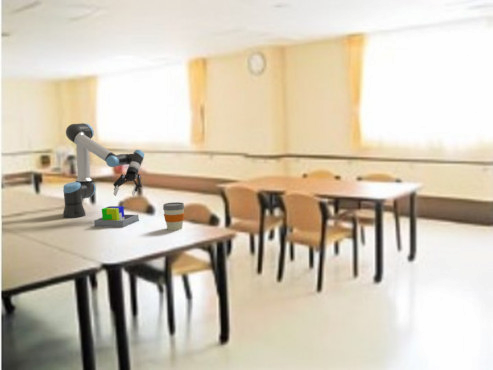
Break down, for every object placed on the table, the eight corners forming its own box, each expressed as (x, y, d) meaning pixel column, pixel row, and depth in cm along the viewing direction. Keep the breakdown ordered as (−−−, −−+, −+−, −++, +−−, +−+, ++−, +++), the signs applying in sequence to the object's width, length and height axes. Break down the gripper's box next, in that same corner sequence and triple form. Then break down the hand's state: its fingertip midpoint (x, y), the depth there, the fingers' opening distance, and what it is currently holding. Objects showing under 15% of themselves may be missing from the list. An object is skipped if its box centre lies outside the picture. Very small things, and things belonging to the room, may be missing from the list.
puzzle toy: (124, 221, 342) (123, 206, 341) (117, 224, 332) (116, 209, 331) (110, 221, 344) (109, 206, 343) (102, 224, 335) (101, 209, 333)
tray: (94, 226, 335) (94, 220, 334) (111, 220, 354) (110, 214, 354) (123, 227, 329) (123, 220, 329) (138, 220, 349) (138, 214, 348)
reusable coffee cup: (181, 231, 312) (180, 205, 310) (161, 230, 314) (159, 205, 312) (188, 226, 324) (186, 202, 322) (168, 226, 326) (167, 202, 324)
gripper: (151, 173, 362) (142, 198, 350) (119, 173, 369) (109, 197, 357) (147, 166, 357) (138, 191, 344) (114, 166, 364) (104, 191, 351)
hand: (123, 194), depth 351 cm, fingers open, 13 cm apart
